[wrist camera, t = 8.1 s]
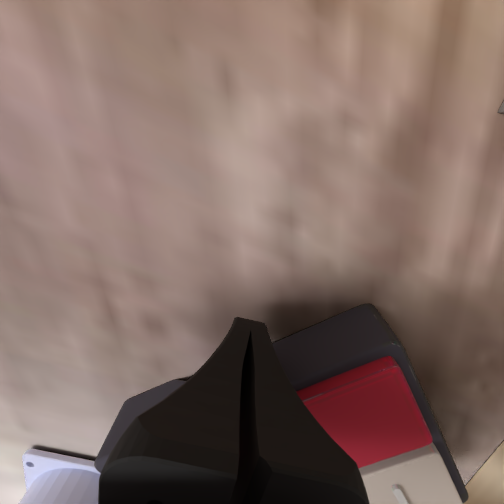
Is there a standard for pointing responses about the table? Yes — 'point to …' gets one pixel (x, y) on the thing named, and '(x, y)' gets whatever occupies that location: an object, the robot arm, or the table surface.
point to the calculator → (355, 408)
